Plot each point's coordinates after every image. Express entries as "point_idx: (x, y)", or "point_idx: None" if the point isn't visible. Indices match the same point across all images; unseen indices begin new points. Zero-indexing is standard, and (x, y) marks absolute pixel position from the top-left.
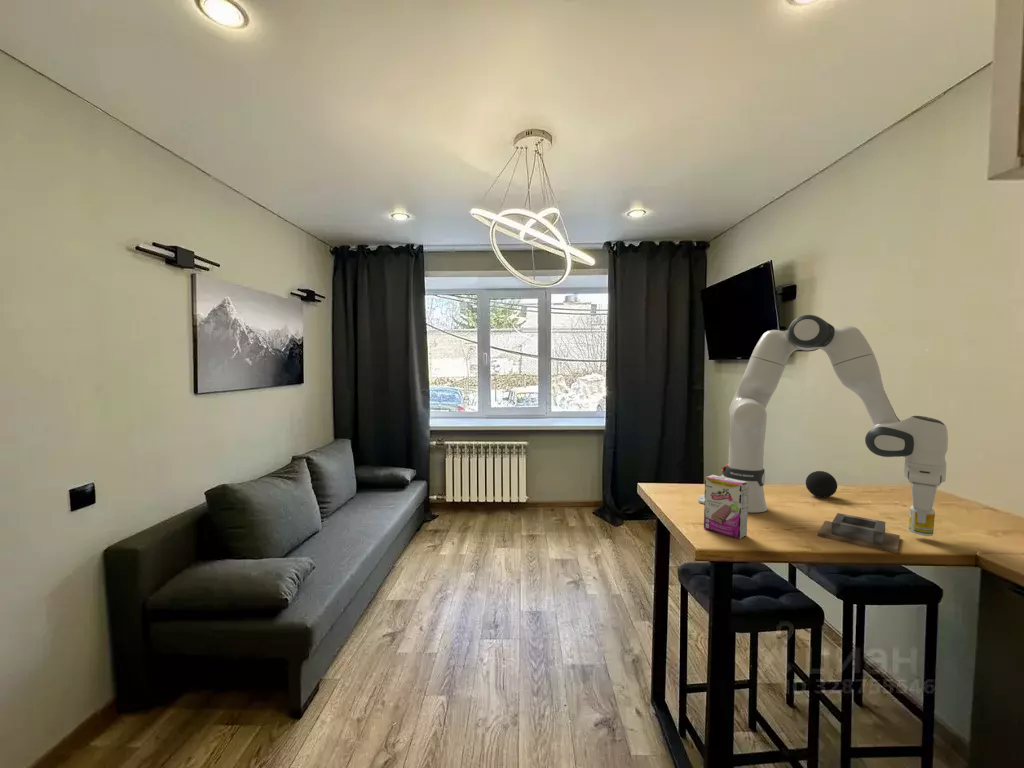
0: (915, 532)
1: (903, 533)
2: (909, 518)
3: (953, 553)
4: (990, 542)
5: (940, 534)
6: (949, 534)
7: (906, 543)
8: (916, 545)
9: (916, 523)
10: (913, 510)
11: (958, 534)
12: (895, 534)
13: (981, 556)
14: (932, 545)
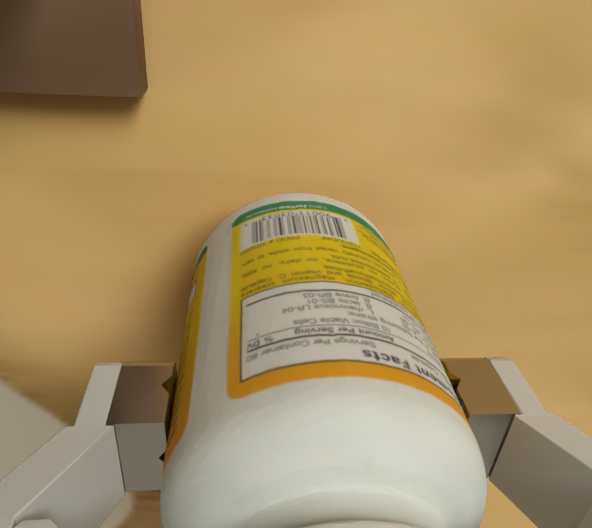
0: (202, 250)
1: (386, 122)
2: (290, 271)
3: (69, 408)
4: (496, 524)
5: (530, 353)
6: (561, 392)
7: (23, 145)
8: (40, 218)
9: (187, 320)
10: (205, 425)
11: (589, 427)
12: (133, 54)
13: (152, 501)
14: (162, 313)
